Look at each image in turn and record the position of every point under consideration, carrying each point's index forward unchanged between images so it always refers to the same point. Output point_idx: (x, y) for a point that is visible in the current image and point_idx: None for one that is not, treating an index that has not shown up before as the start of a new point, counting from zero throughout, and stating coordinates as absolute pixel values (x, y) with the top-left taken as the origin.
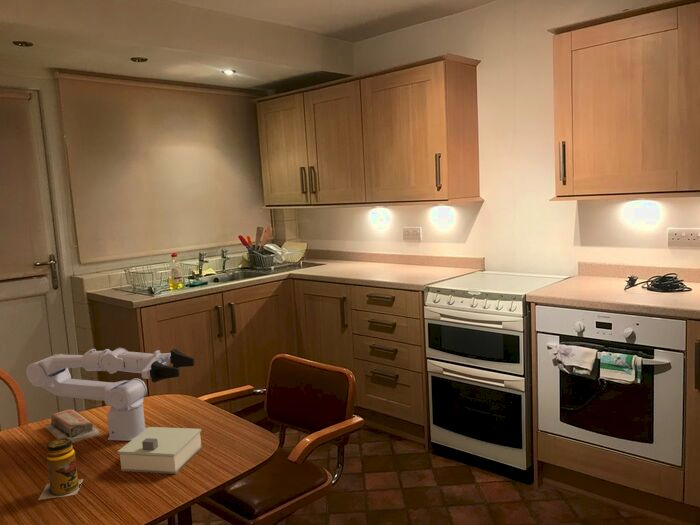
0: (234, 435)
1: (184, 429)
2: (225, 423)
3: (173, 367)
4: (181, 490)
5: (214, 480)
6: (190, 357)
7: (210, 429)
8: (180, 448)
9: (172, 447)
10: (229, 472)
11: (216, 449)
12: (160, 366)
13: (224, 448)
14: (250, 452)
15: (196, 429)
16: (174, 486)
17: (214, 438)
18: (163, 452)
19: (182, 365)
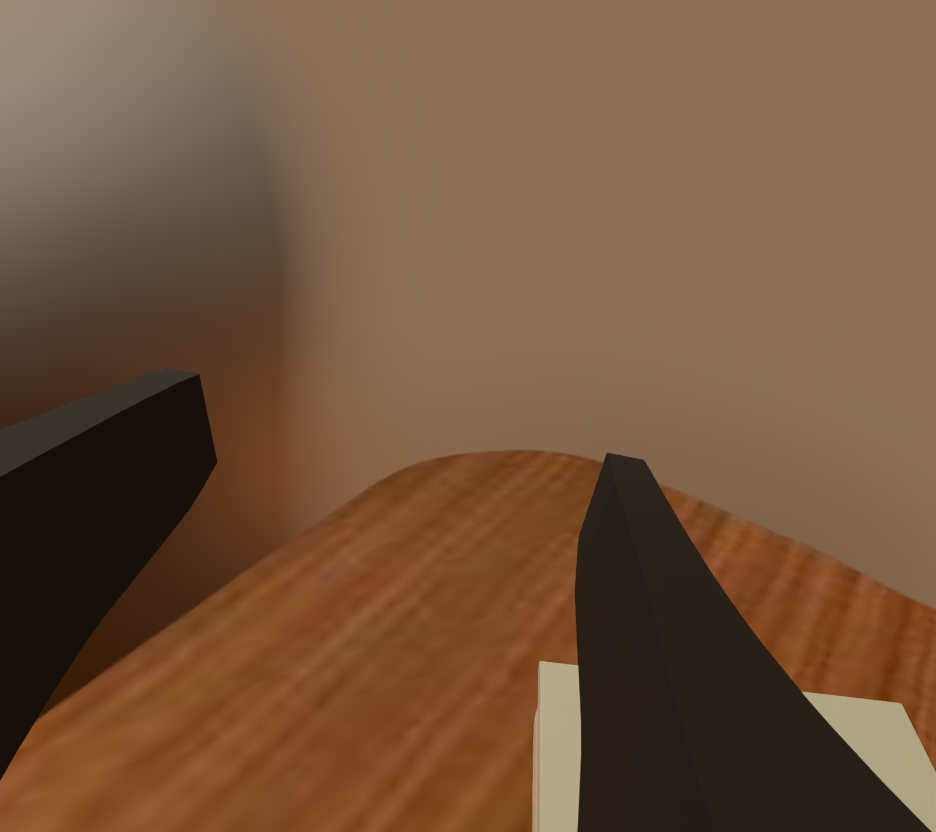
0: (383, 598)
1: (562, 785)
2: (201, 690)
3: (634, 507)
4: (932, 670)
5: (791, 567)
6: (132, 386)
7: (268, 762)
8: (821, 694)
9: None
10: (715, 534)
11: (537, 639)
12: (845, 746)
13: (524, 605)
14: (550, 503)
15: (552, 689)
16: (929, 718)
17: (408, 691)
18: (930, 792)
19: (72, 633)
